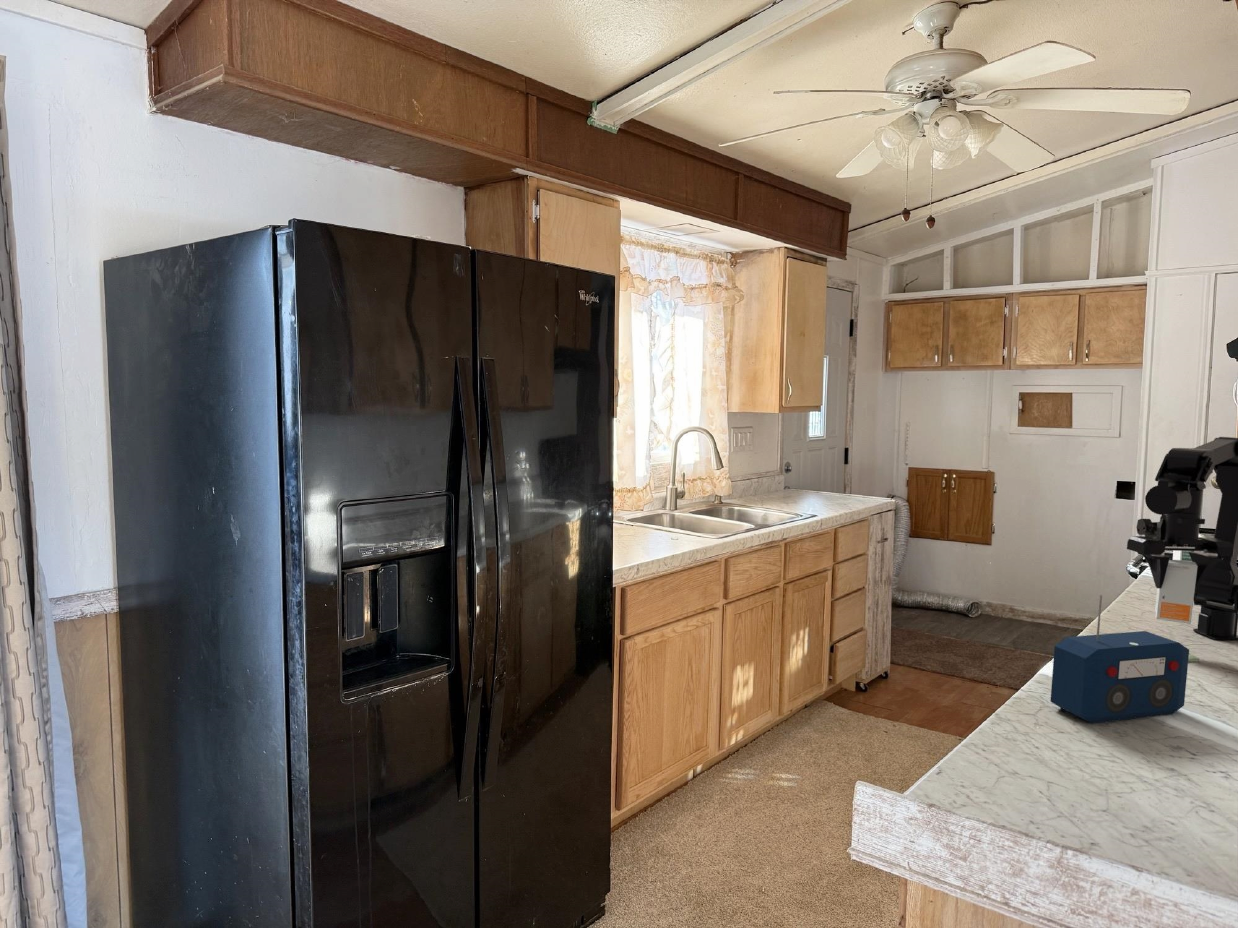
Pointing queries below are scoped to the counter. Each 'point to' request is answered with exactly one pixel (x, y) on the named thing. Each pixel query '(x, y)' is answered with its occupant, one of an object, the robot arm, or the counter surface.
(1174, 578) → the skincare box
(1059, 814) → the counter surface
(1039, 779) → the counter surface
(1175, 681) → the radio
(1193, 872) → the counter surface
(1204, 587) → the robot arm
